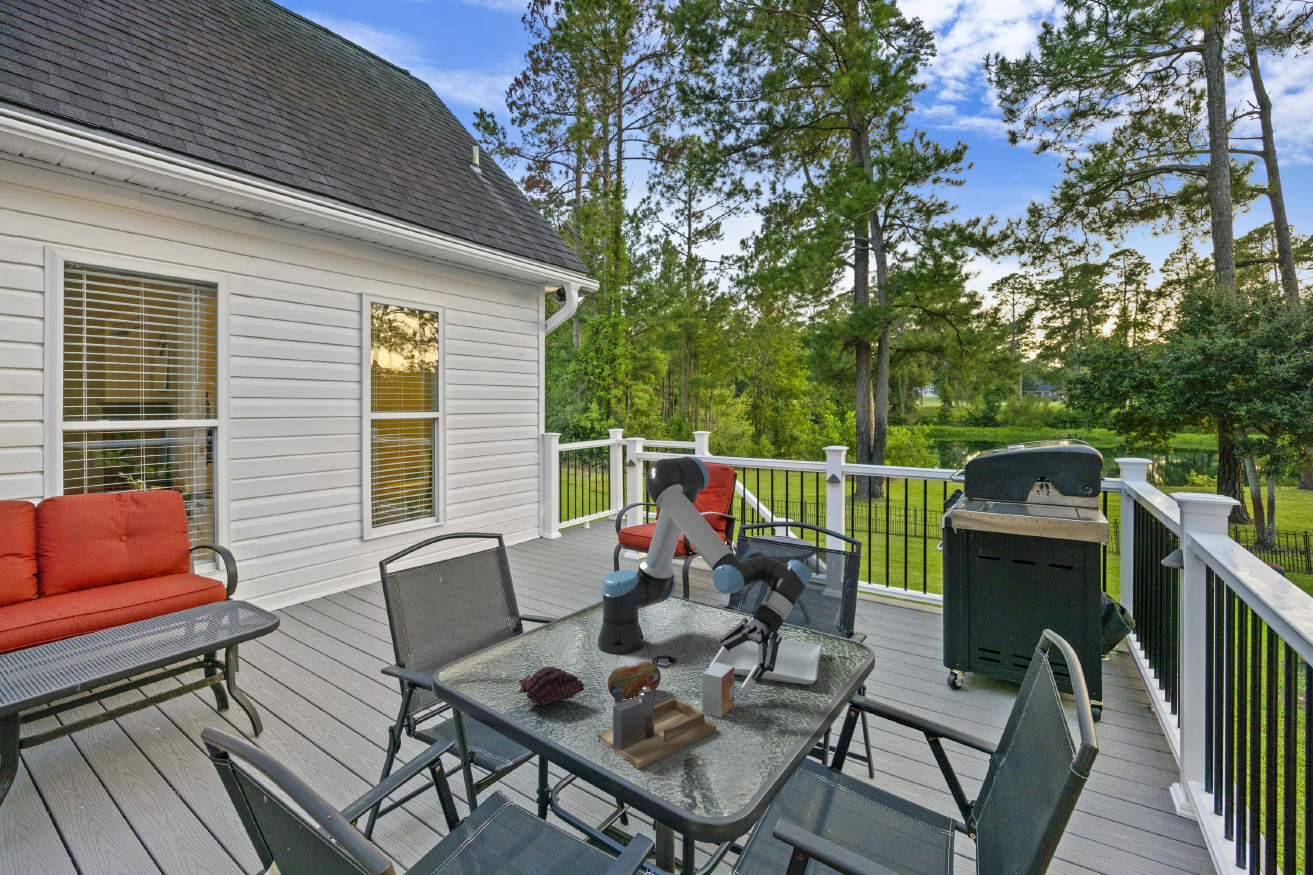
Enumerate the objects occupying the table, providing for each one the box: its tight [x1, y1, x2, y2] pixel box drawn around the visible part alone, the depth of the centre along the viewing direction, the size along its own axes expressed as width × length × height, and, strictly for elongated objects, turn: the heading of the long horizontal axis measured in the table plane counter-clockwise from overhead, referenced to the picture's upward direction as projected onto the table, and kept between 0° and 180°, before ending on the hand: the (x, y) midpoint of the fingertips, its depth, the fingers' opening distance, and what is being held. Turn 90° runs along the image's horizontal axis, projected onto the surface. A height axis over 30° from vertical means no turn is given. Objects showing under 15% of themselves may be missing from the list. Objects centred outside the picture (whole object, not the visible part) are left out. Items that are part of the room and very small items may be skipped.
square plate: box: [723, 638, 823, 685], centre depth 181 cm, size 27×27×4 cm
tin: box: [606, 661, 661, 702], centre depth 162 cm, size 15×3×8 cm, turn 117°
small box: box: [701, 662, 735, 719], centre depth 155 cm, size 8×6×10 cm
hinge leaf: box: [612, 686, 655, 751], centre depth 138 cm, size 4×10×11 cm, turn 130°
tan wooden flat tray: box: [597, 697, 717, 770], centre depth 142 cm, size 15×24×4 cm, turn 130°
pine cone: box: [518, 666, 585, 706], centre depth 157 cm, size 18×10×10 cm, turn 85°
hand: (728, 679), depth 155 cm, fingers open, 13 cm apart
